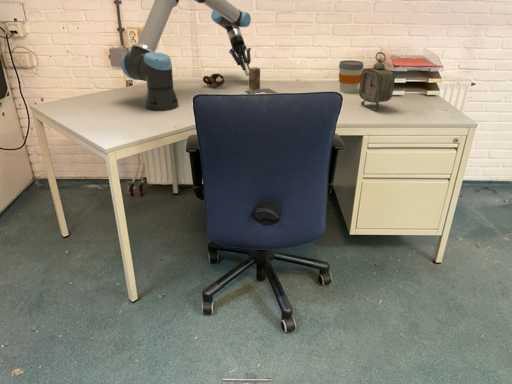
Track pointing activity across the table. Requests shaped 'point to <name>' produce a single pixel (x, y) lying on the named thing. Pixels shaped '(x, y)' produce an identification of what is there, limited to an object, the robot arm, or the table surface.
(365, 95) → the tabletop clock
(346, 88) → the reusable coffee cup
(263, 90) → the rubber mat
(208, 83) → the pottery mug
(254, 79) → the walnut block
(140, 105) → the table surface
